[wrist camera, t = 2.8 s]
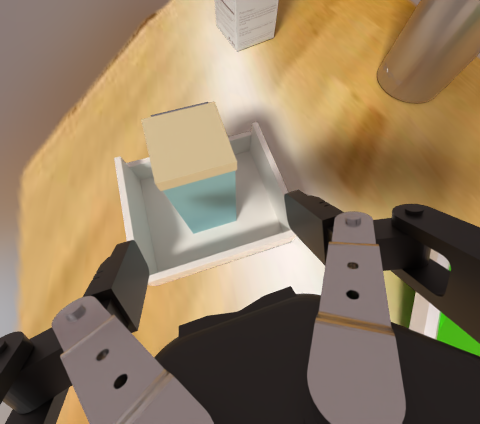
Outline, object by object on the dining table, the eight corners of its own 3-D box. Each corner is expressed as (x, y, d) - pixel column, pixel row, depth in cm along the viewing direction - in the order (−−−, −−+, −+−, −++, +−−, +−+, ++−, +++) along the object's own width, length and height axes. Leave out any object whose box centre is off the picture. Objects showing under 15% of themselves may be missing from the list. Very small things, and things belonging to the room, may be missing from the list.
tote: (252, 148, 30) (255, 117, 25) (290, 242, 25) (304, 228, 20) (136, 179, 28) (113, 153, 23) (156, 286, 24) (133, 283, 18)
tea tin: (224, 182, 27) (214, 101, 16) (237, 221, 25) (236, 161, 14) (182, 194, 27) (141, 119, 15) (192, 235, 25) (155, 184, 14)
